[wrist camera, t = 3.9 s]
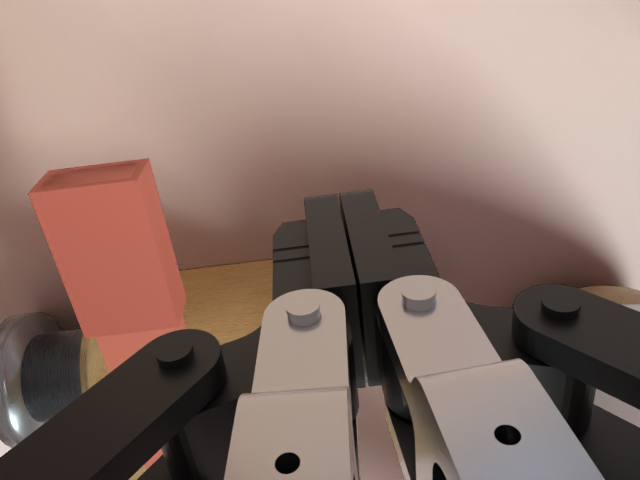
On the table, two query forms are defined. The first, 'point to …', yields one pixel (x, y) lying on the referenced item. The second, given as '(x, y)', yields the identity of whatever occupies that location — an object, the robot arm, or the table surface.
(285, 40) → the table surface
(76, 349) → the valve pipe
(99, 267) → the lever
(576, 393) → the robot arm
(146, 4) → the table surface
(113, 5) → the table surface
